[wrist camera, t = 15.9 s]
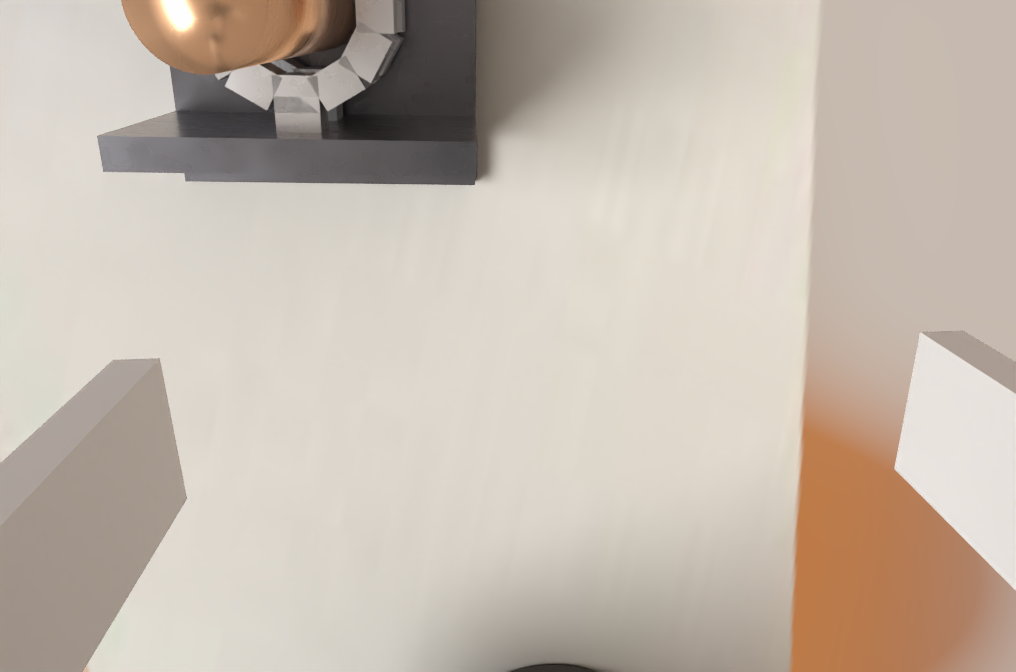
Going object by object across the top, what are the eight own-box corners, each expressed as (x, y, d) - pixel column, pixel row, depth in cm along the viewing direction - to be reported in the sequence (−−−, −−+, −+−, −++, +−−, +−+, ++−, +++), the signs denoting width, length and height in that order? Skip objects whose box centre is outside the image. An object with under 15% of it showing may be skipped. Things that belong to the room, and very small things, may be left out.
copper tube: (358, -34, 39) (261, -82, 21) (362, 50, 41) (275, 76, 22) (278, -36, 39) (107, -87, 20) (285, 48, 40) (132, 73, 22)
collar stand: (474, 181, 44) (476, 226, 35) (191, 177, 44) (112, 223, 34) (476, -188, 38) (479, -260, 28) (141, -201, 37) (24, -279, 27)
